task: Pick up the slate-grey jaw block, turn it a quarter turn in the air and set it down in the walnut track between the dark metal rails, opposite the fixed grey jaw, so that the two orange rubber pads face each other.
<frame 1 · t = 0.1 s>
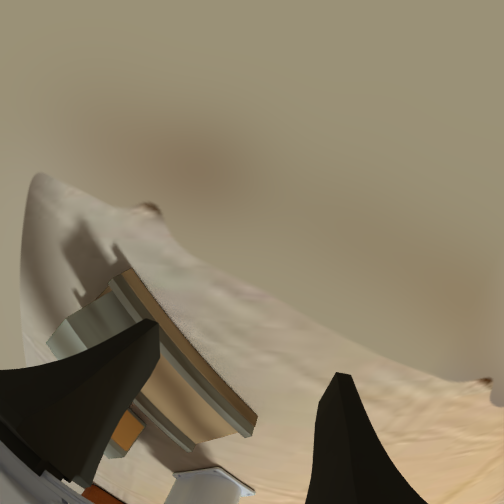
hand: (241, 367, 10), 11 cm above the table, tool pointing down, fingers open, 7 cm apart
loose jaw: (124, 413, 28), on the table
jaw track: (164, 368, 24), on the table
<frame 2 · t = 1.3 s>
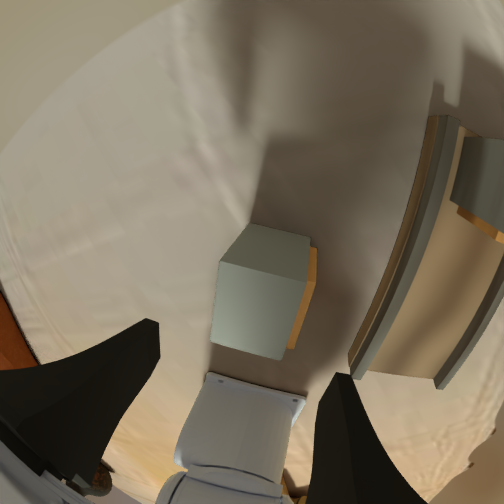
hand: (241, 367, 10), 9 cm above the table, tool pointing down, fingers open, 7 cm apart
kendama: (287, 488, 35), on the table
bread: (12, 337, 37), on the table
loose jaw: (272, 264, 19), on the table
jaw track: (446, 267, 16), on the table
glass bottle: (95, 460, 58), on the table
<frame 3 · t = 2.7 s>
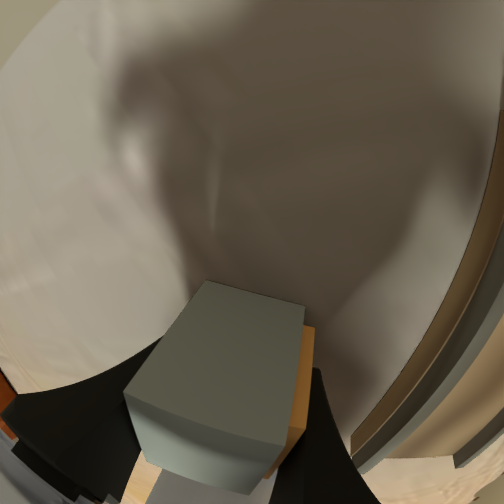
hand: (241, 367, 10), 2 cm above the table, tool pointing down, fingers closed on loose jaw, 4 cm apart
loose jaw: (244, 340, 12), on the table, touching gripper
jaw track: (496, 336, 9), on the table
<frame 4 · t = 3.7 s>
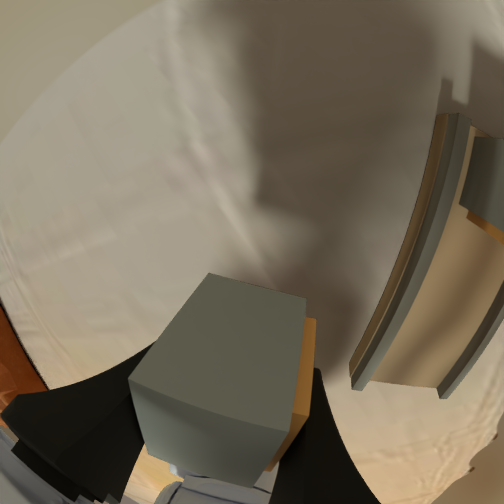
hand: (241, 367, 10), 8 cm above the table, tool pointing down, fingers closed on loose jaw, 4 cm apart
bread: (9, 342, 37), on the table
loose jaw: (246, 333, 12), point 6 cm above the table, touching gripper
jaw track: (452, 274, 15), on the table
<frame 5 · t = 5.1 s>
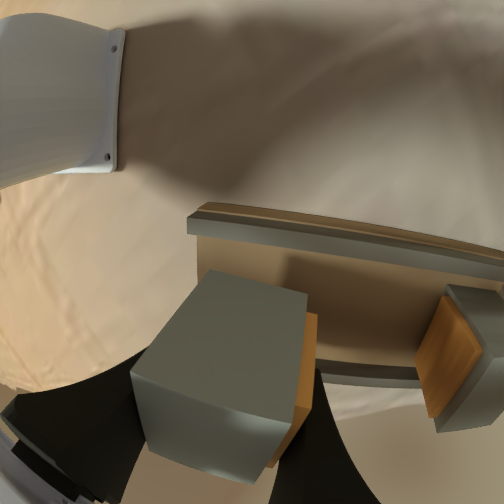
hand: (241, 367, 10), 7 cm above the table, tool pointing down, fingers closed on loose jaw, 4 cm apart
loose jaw: (247, 329, 12), point 5 cm above the table, touching gripper
jaw track: (357, 299, 15), on the table
when the fingers open (4 cm above the table, at t = 6.0 s): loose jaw stays where it is, resting on jaw track.
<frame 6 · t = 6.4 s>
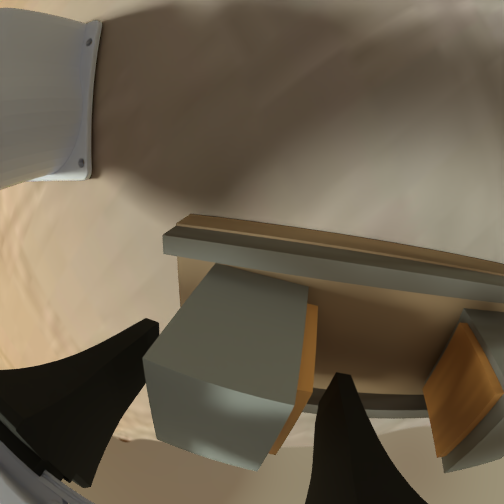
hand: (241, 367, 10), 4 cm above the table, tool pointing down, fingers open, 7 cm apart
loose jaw: (251, 321, 13), point 1 cm above the table, touching jaw track
jaw track: (362, 324, 13), on the table
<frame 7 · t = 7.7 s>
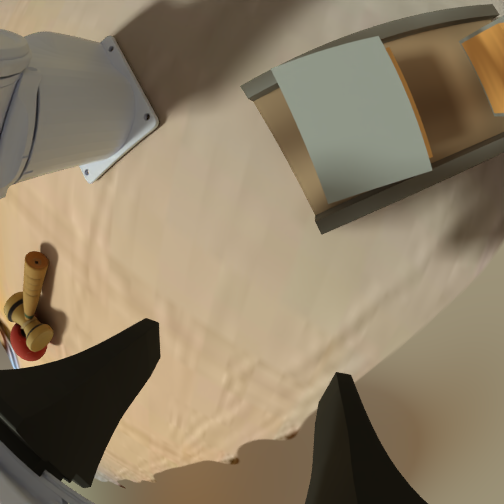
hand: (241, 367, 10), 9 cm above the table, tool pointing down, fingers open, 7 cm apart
kendama: (42, 302, 28), on the table
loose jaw: (341, 124, 13), point 1 cm above the table, touching jaw track
jaw track: (417, 98, 13), on the table
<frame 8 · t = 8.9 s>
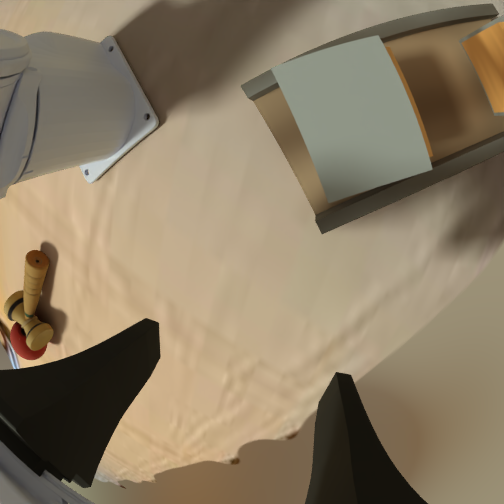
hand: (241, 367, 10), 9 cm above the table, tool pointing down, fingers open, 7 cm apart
kendama: (42, 301, 28), on the table
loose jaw: (341, 124, 13), point 1 cm above the table, touching jaw track
jaw track: (417, 98, 13), on the table
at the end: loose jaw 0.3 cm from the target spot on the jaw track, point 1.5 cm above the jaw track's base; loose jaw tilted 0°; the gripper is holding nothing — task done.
